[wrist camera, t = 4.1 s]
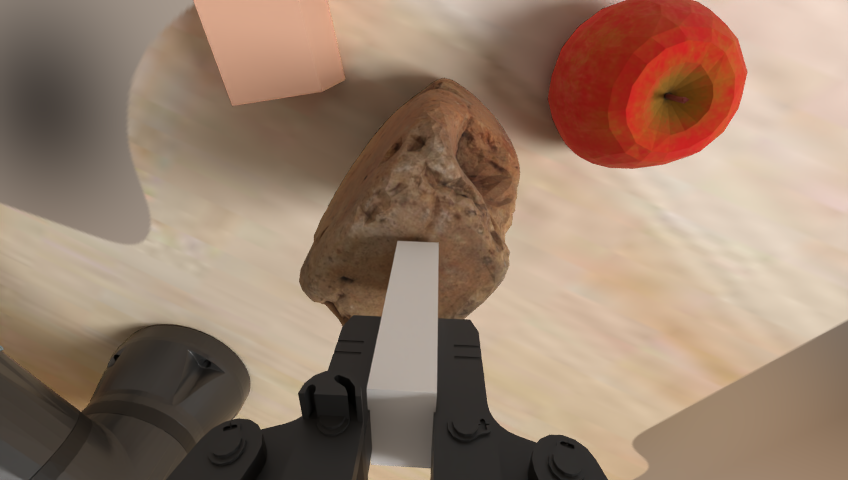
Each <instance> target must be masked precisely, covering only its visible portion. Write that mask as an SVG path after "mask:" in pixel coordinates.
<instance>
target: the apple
mask: <svg viewBox="0 0 848 480" xmlns="http://www.w3.org/2000/svg"><path fill="white" fill-rule="evenodd" d="M746 75H747V69H746V65H745V62H744V59H743V55H742V52H741V48H740V45H739V41H738V39H737V37H736V36H735V35H734V34H733V32H732V31H731V30H730V29H729V27H728V26H727V25H726V24H725V23H724V22H723V21H722V20H721V19H720V18H719V17H718V16H716V15H715V14H714V13H713V12H712V11H711V10H710V9H708V8H707V7H705V6H704V5H702V4H700V3H699V2H697V1H693V0H625V1H623V2H620V3H617V4H614V5H611V6H609V7H606V8H603V9H601V10H600V11H599V12H597V13H596V14H595V15H593V16H592V17H591V18H589V19H588V20H587V21H585V22H584V23H583V24H581V25H580V26H579V27H578V28H577V29H576V30H575V32H574V33H573V34H572V35H571V37H570V38H569V39H568V41H567V42H566V43H565V44H564V46H563V47H562V48H561V51H560V54H559V57H558V59H557V62H556V65H555V68H554V70H553V73H552V77H551V83H550V89H549V95H548V102H549V106H550V111H551V115H552V119H553V121H554V123H555V125H556V128H557V130H558V132H559V134H560V136H561V137H562V139H563V141H564V142H565V144H566V145H567V146H568V147H569V148H570V149H571V150H572V151H573V152H574V153H575V154H577V155H578V156H579V157H581V158H583V159H585V160H587V161H589V162H591V163H593V164H597V165H601V166H605V167H609V168H629V169H633V168H641V167H649V166H656V165H663V164H667V163H670V162H673V161H676V160H678V159H681V158H684V157H687V156H690V155H692V154H695V153H697V152H700V151H701V150H702V149H703V148H705V147H706V146H707V145H708V144H709V143H711V142H712V141H713V140H714V139H715V138H717V137H718V136H719V135H720V134H721V133H723V132H724V130H725V129H726V127H727V126H728V124H729V122H730V121H731V119H732V118H733V116H734V114H735V113H736V111H737V110H738V108H739V104H740V101H741V97H742V94H743V89H744V85H745V80H746Z"/></svg>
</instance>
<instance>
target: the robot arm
mask: <svg viewBox="0 0 848 480" xmlns="http://www.w3.org/2000/svg"><path fill="white" fill-rule="evenodd" d="M438 260H439V243H434V242H412V241H397V246H396V251H395V256H394V260H393V265H392V270H391V275H390V279H389V284H388V289H387V294H386V298H385V303H384V308H383V313H382V316H362V315H353V316H352V317H351V318H350V319H349V320H348V321H347V322H346V323H345V324H344V325H343V327H342V330H341V333H340V336H339V339H338V342H337V345H336V348H335V351H334V354H333V357H332V360H331V363H330V366H329V369H328V371H325V372H322V373H320V374H317V375H315V376H313V377H312V378H311V379H309V380H308V381H307V382H306V383H304V385H303V386H302V388H301V390H300V391H299V393H298V395H299V400H300V406H301V411H302V417H300V418H298V419H296V420H294V421H292V422H289V423H286V424H282V425H278V426H274V427H270V428H266V429H262V430H260V428H259V426H258V424H256V423H254V422H253V421H251V420H248V419H234V420H232V419H233V418H235V416H236V415H237V414H238V413H239V411H240V410H241V408H242V406H243V404H244V402H245V400H246V398H247V396H248V394H249V391H250V378H249V374H248V371H247V369H246V367H245V366H244V364H243V362H242V361H241V360H240V359H239V357H238V356H237V355H236V354H235V353H234V352H233V351H232V350H231V349H229V348H228V347H227V346H226V345H224V344H223V343H221V342H220V341H218V340H216V339H215V338H213V337H211V336H209V335H207V334H204V333H202V332H199V331H196V330H193V329H190V328H185V327H180V326H172V325H159V326H152V327H147V328H144V329H141V330H139V331H137V332H135V333H134V334H132V335H131V336H130V337H129V338H128V339H127V340H126V341H125V342H124V343H123V344H122V345H121V346H120V347H119V348H118V349H117V350H116V351H115V353H114V354H113V355H112V357H111V359H110V361H109V363H108V367H107V369H106V370H105V372H104V374H103V376H102V378H101V380H100V382H99V384H98V386H97V388H96V390H95V392H94V394H93V396H92V398H91V400H90V403H89V404H88V406H87V407H86V408H85V409H84V410H83V411H82V412H80V411H79V410H78V409H77V408H75V407H74V406H73V405H71V404H70V403H69V402H67V401H66V400H64V399H63V398H62V397H60V396H59V395H58V394H56V393H55V392H54V391H53V390H51V389H50V388H49V387H47V386H46V385H45V384H44V383H42V382H41V381H40V380H38V379H37V378H36V377H35V376H33V375H32V374H31V373H29V372H28V371H27V370H26V369H24V368H23V367H22V366H20V365H19V364H18V363H17V362H15V361H14V360H13V359H11V358H10V357H9V356H8V355H6V354H5V353H4V352H2V351H1V350H4V348H3V347H2V346H0V480H368V471H369V465H370V459H371V465H385V466H401V467H419V468H431V480H608V479H607V477H606V476H605V474H604V472H603V471H602V469H601V467H600V466H599V464H598V462H597V461H596V459H595V458H594V457H593V455H592V454H591V453H590V452H589V451H588V449H587V448H586V447H584V446H583V445H582V444H580V443H579V442H577V441H576V440H574V439H572V438H569V437H566V436H563V435H548V436H546V437H544V438H541V439H540V440H539V441H538V442H537V443H536V442H533V441H530V440H527V439H525V438H522V437H519V436H517V435H515V434H512V433H510V432H508V431H507V430H505V429H504V428H503V427H501V426H500V425H499V424H498V423H497V422H496V421H495V419H494V418H493V417H492V415H491V413H490V411H489V408H488V404H487V397H486V389H485V381H484V373H483V365H482V359H481V358H482V357H481V349H480V341H479V332H478V331H477V329H476V328H475V326H474V325H473V323H472V322H471V320H465V319H444V318H438Z"/></svg>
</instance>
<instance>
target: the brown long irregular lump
mask: <svg viewBox="0 0 848 480" xmlns="http://www.w3.org/2000/svg"><path fill="white" fill-rule="evenodd" d="M519 178H520V167H519V162H518V158H517V154H516V152H515V149H514V147H513V145H512V143H511V141H510V139H509V137H508V136H507V134H506V132H505V131H504V129H503V128H502V126H501V125H500V123H499V122H498V121H497V119H496V118H495V117H494V116H493V114H492V113H491V112H490V111H489V110H488V109H487V108H486V107H485V106H484V105H483V104H482V103H481V102H480V101H479V100H478V99H477V98H476V97H475V96H474V95H473V94H472V93H470V92H469V91H468V90H466V89H465V88H464V87H462V86H461V85H459V84H458V83H456V82H455V81H453V80H450V79H446V78H442V79H438V80H436V81H435V82H433V83H431V84H430V85H429V86H428V87H426V88H425V89H424V90H422V91H421V92H420V93H418V94H417V95H416V96H414V97H413V98H412V99H410V100H409V101H408V102H407V103H405V104H404V105H403V106H402V107H400V108H399V109H398V110H397V111H396V112H395V113H394V114H393V115H392V116H391V117H390V118H389V119H388V120H387V121H386V122H385V123H384V124H383V126H382V127H381V128H380V129H379V130H378V131H377V133H376V134H375V135H374V136H373V138H372V139H371V140H370V141H369V143H368V144H367V146H366V147H365V148H364V150H363V151H362V153H361V154H360V155H359V157H358V158H357V160H356V161H355V162H354V164H353V165H352V167H351V168H350V170H349V171H348V173H347V175H346V176H345V178H344V180H343V181H342V183H341V185H340V186H339V188H338V190H337V191H336V193H335V195H334V197H333V199H332V200H331V202H330V204H329V205H328V208H327V210H326V212H325V213H324V215H323V217H322V218H321V220H320V223H319V225H318V228H317V230H316V232H315V234H314V243H313V245H312V247H311V249H310V251H309V253H308V255H307V257H306V259H305V261H304V264H303V266H302V268H301V271H300V279H299V282H300V285H301V287H302V290H303V291H304V292H305V294H306V295H307V296H308V297H309V298H310V299H311V300H312V301H314V302H319V303H321V304H325V305H326V306H327V307H328V308H329V309H330V310H331V311H332V312H333V313H334V315H335V316H336V317H337V318H338V319H339V321H340V322H341V324H342V326H343V325H344V324H345V323H346V322H347V321H348V320H349V319H350V318H351V317H352V316H353V315H362V316H382V313H383V308H384V303H385V298H386V294H387V289H388V284H389V279H390V275H391V270H392V265H393V260H394V256H395V251H396V246H397V241H412V242H434V243H439V260H438V318H444V319H464V318H466V317H467V316H468V315H469V314H470V313H471V312H473V311H474V310H475V309H476V308H477V307H479V306H480V305H481V304H482V303H483V302H484V301H485V300H486V299H487V298H488V297H489V296H490V295H491V294H492V293H493V292H494V291H495V290H496V288H497V287H498V286H499V285H500V283H501V282H502V281H503V279H504V277H505V275H506V272H507V270H508V267H509V253H510V252H509V250H508V247H507V245H506V244H505V233H506V232H507V230H508V229H509V228H510V226H511V225H512V219H513V215H512V213H513V212H514V211H515V201H516V198H517V187H518V183H519Z"/></svg>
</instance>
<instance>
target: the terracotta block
mask: <svg viewBox="0 0 848 480" xmlns="http://www.w3.org/2000/svg"><path fill="white" fill-rule="evenodd" d="M193 1H194V4H195V6H196V9H197V12H198V14H199V17H200V20H201V23H202V25H203V28H204V31H205V33H206V36H207V39H208V42H209V44H210V47H211V50H212V52H213V55H214V58H215V61H216V63H217V66H218V69H219V71H220V74H221V77H222V80H223V82H224V85H225V88H226V90H227V93H228V96H229V99H230V101H231V104H232V106H236V105H242V104H248V103H255V102H261V101H267V100H274V99H280V98H286V97H293V96H299V95H306V94H312V93H318V92H323V91H325V90H327V89H329V88H331V87H333V86H334V85H336V84H338V83H340V82H342V81H344V80H346V79H345V75H344V70H343V66H342V61H341V57H340V53H339V48H338V44H337V39H336V35H335V31H334V26H333V22H332V17H331V13H330V9H329V4H328V0H193Z"/></svg>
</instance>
